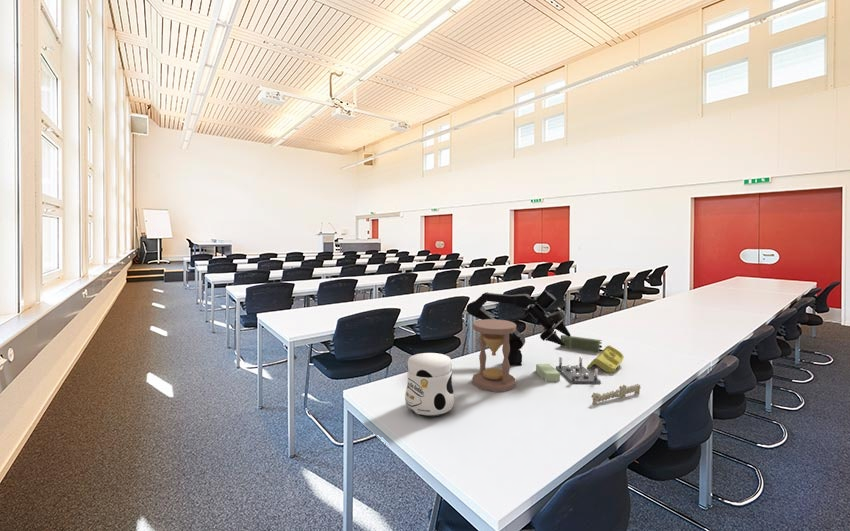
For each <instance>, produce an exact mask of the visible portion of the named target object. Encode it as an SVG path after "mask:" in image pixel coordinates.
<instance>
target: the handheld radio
mask: <svg viewBox="0 0 850 531" xmlns="http://www.w3.org/2000/svg"><path fill="white" fill-rule="evenodd" d="M560 339H561V340H562V341H563V343H564V344H565V345H564V346H562V345H560V348H565V349H572V350H577V349H578V350H579V351H585V352H590V351H591V352H592V353H599V354H600V353H601V352H602V351H603V350H604V349H602V347H603V346H602V345H601V344H603V343H602V342H603V340H602V339H597V338H595V339H594V338H587V337H582V336H572V335H571V336H570V337H568V336H566V335H565V334H561V335H560Z"/></svg>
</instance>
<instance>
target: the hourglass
mask: <svg viewBox="0 0 850 531" xmlns="http://www.w3.org/2000/svg"><path fill="white" fill-rule="evenodd" d="M472 329H473V330H474V331H475V332H478V333H480V334H479V335H480V336H479V340H478V341H479V346H480V353H479V355H478V356H479V371H478V372H476V373H474V374H473V376H472V378H471V379H472V380H471V383H473V386H475V387H476V388H478V389H480V390H483V391H486V392H487V391H488V392H496V393H497V392H498V393H499V392H508V391H510V390H512V389H514V388H515V387H516V378H515V377H514V376H513V375H511V374H510V366H511V365H510V364H509V360H508V356H509V352H510V345H509V334H510V333H513V332H515V331H516V330H517V324H516V323H515V322H513V321H510V320H505V319H497V318H495V319H485V320H482V319H478V320H475V321H473V323H472ZM502 334H503V335H502ZM486 346H487V347H488V348H489V350H490V352H491V356H493V357H494V356H496V355H497V351H499V349H500V348H501V347H502V349H501V350H502V355H503V360H502V364H501V369H499V368H498V367H497V368H496V367H490V368H486V363H487V353H486V348H487V347H486Z"/></svg>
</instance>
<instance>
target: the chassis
mask: <svg viewBox="0 0 850 531" xmlns="http://www.w3.org/2000/svg"><path fill="white" fill-rule="evenodd" d="M558 359H559V360H558V365H556V368H555V369H556V370H557V371H558V372H559V373H560V374H561V375H562V376H564V377H565V378H566V379H567V381H568V382H570V383H571V384H574V385H575V384H577V385H578V384H601V383H602V382H601V380H600V379H599V378H598V374H599V372H598V371H599V369H598V368H594V372H593V373H594V374H593V373H591V372H590V371H589V370H588V369H587V368H585V367H584V366H583V357H582V356H579V360H578V365H569V364H568V365H563V357H562V356H559V357H558Z"/></svg>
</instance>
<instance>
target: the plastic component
mask: <svg viewBox="0 0 850 531" xmlns="http://www.w3.org/2000/svg"><path fill="white" fill-rule="evenodd" d="M602 350H603V351H602V352H599V354H598V355H597V356H596V357H595V358H594V359H593V360H592V361H591V362H590V363H589V364H588V365H587V368H589V369H590V368H592V367H593V366H594V365H596V366H597V367H599V369H602V370H603V371H605V372H607V373H608V374H613V373H614V372H615V371H616V369H617V368H619V366H620V365H621V363H622V361H624V358H625V357H624V355H623V353H622V352H621V351H620V350H619V349H617V348H615V347H613V346H611V345H607V346H605V347H604V349H602Z"/></svg>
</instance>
